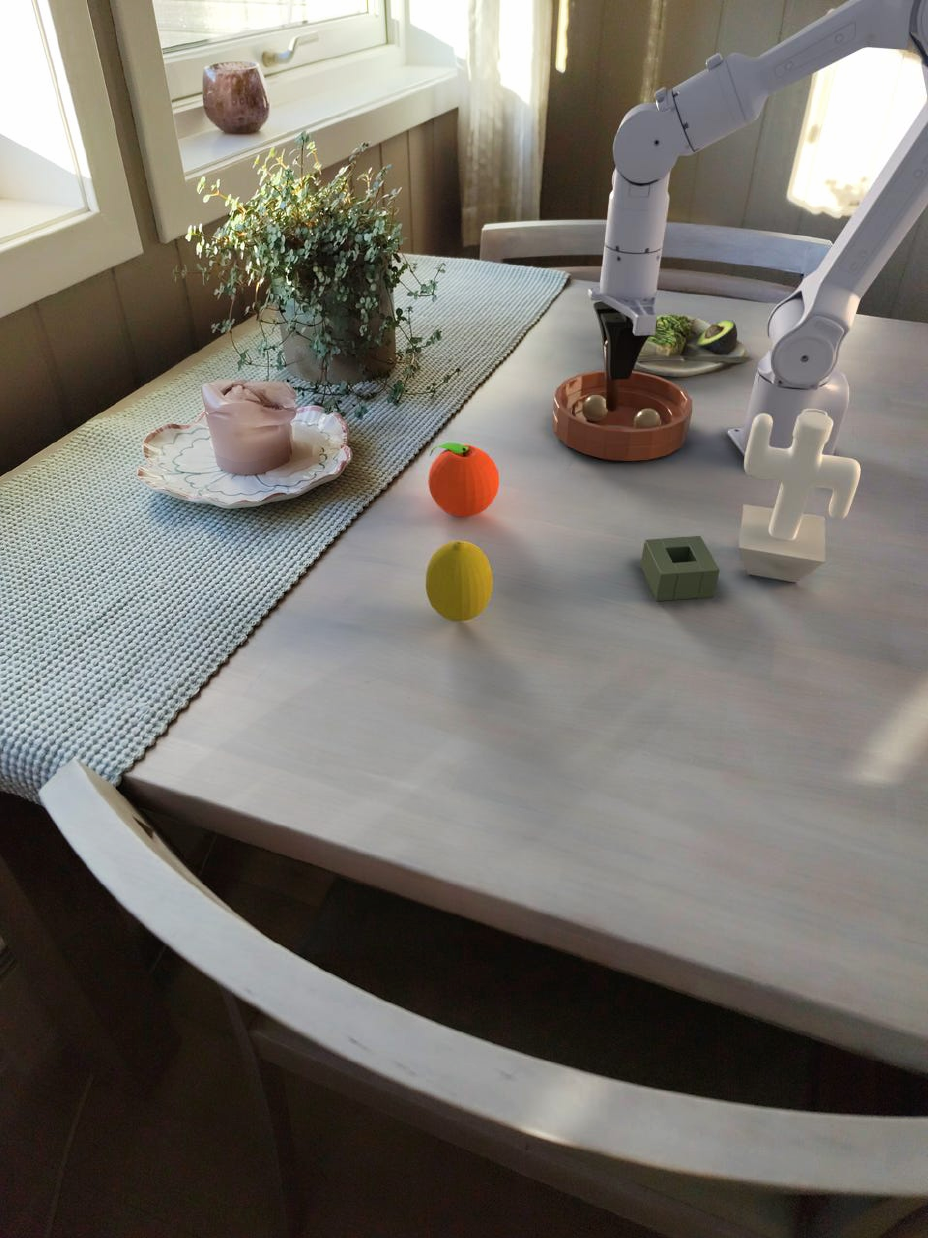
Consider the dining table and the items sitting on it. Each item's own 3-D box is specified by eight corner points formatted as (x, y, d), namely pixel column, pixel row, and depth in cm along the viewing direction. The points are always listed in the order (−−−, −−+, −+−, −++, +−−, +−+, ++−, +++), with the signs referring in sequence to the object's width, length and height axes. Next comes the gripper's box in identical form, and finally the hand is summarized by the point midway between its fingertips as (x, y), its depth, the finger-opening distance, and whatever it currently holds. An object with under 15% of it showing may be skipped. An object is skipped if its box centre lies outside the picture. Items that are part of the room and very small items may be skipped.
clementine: (407, 508, 87) (403, 445, 82) (452, 481, 91) (452, 419, 86) (467, 539, 83) (467, 474, 78) (512, 509, 87) (515, 445, 82)
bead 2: (654, 427, 99) (658, 403, 97) (662, 440, 97) (666, 415, 95) (629, 428, 99) (632, 404, 97) (636, 441, 96) (639, 417, 94)
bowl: (663, 397, 106) (668, 366, 103) (704, 460, 94) (711, 427, 92) (541, 404, 104) (543, 372, 102) (567, 468, 93) (570, 435, 90)
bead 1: (603, 413, 101) (606, 389, 100) (609, 425, 99) (612, 401, 97) (578, 414, 101) (580, 390, 99) (584, 426, 99) (586, 402, 97)
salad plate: (642, 398, 105) (647, 362, 102) (567, 344, 118) (570, 310, 115) (767, 369, 112) (776, 335, 109) (684, 321, 124) (689, 289, 121)
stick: (616, 407, 98) (615, 335, 92) (619, 412, 97) (619, 340, 91) (604, 409, 98) (603, 337, 92) (607, 414, 97) (606, 342, 91)
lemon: (425, 600, 76) (422, 524, 71) (488, 597, 76) (490, 521, 71) (428, 642, 72) (426, 565, 66) (495, 639, 72) (497, 561, 67)
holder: (694, 562, 80) (700, 535, 78) (713, 597, 76) (720, 570, 74) (639, 566, 80) (644, 539, 78) (656, 601, 76) (661, 574, 74)
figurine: (826, 597, 76) (880, 446, 66) (717, 578, 78) (753, 428, 69) (826, 551, 81) (875, 404, 72) (723, 534, 84) (758, 389, 74)
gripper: (578, 223, 91) (567, 348, 100) (612, 270, 80) (596, 406, 89) (643, 221, 92) (627, 345, 100) (686, 268, 81) (663, 402, 89)
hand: (617, 374), depth 95 cm, fingers closed on stick, 1 cm apart
